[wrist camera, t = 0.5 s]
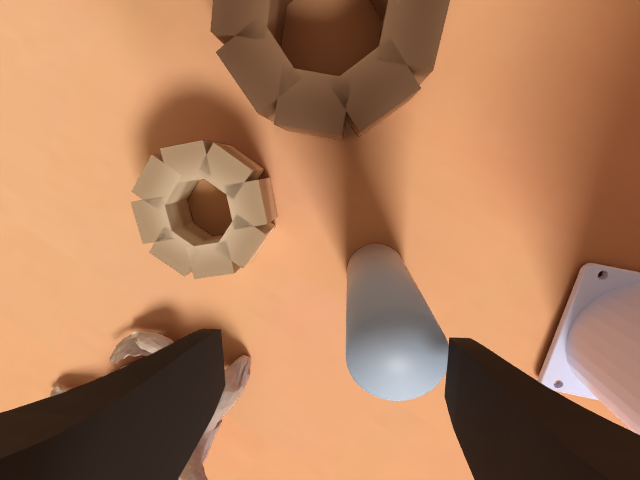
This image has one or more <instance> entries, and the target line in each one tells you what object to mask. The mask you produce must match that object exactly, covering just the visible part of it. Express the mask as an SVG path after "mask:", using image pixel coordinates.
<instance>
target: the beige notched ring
mask: <svg viewBox="0 0 640 480" xmlns="http://www.w3.org/2000/svg"><path fill="white" fill-rule="evenodd" d="M160 151H161V154H162V155H151V157H150V159H149V160H148V162H147V164H146V166H145V168H144V170H143V171H142V173H141V175H140V177H139V179H138V181H137V182H136V184H135V186H134V188H133V190H132V192H133V193H134V194H136V195H137V196H139V197H140V198H141V199H143V200H139V201H133V202H131V205H132V208H133V212H134V215H135V219H136V222H137V226H138V229H139V232H140V236H141V239H142V243H143V244H145V243H152V242H155V243H154V245H153V247H152V248H151V250H150V252H149V253H151V254H152V255H154V256H155V257H157V258H158V259H160V260H161V261H162V262H164V263H165V264H167V265H168V266H170V267H171V268H173V269H174V270H176V271H177V272H179V273H180V274H182V275H183V276H186V275H188V274H189V273H190V272H193V276H194V279H198V278H205V277H212V276H219V275H226V274H233V273H235V272H236V271H237V270H238V269H239V268H240V267H241V268H243V267H244V266H245V265H246V264H247V263H248V262H249V261H250V260H251V259H252V258H253V257H254V256H255V255H256V254H257V252H258V251H259V250H260V248H261V247H262V245H263V244H264V242H265V241H266V239H267V238H268V236H269V235H270V233H271V232H272V231H273V229H274V228H275V225H274V224H273V223H271V221H273V220H274V219H275V218H277V217H278V216H277V211H276V206H275V201H274V196H273V191H272V186H271V181H270V178H265V179H259V177H260V175H261V174H262V172H263V171H264V169H263V168H262V167H261V166H259V165H258V164H256V163H255V162H254V161H252V160H251V159H249V158H248V157H247V156H245V155H244V154H242V153H241V152H240V151H238V150H237V149H235V148H234V147H233V146H231V145H226V144H222V143H218V142H212V141H205V140H201V141H196V142H190V143H185V144H180V145H175V146H170V147H164V148H160ZM203 179H205V180H207V181H208V182H209V183H211V184H212V185H214V186H215V187H217V188H218V189H219V190H221V191H222V192H224V193H225V194H226V195H227V200H228V204H229V209H230V213H231V217H232V223H231V224H230V226H229V227H228V229H227V230H226V232H225V233H224V235H217V236H211V235H210V234H209V233H207V232H206V231H204V230H203V229H201V228H200V227H198V226H197V225H196V224H194V223H193V221H192V217H191V213H190V209H189V205H188V201H187V199H188V198H189V196H190V194H191V193H192V191H193V189H194V188H195V186H196V184H197V182H198V181H199V180H203ZM258 179H259V180H258Z"/></svg>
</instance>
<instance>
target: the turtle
mask: <svg viewBox="0 0 640 480" xmlns="http://www.w3.org/2000/svg"><path fill="white" fill-rule="evenodd" d="M172 343H174V342H173V341H172V340H171V339H170V338H168V337H166V336H163V335H161V334H159V333H155V332H150V331H136V332H134V333H132V334H131V335H130V336H128V337H126V338H124V339H123V340H122V341H121V342H120V343H119V344H118V345H117V347H116V349H115V350H114V352H113V353H112V355H111V357H110V361H111V362H113V361H114V359H115V365H116V364H117V363H118V362H119V361H120V360H121V359H125V358H126V357H127V356H129V355H130V356H134V357H135V356H139V355H142V356H148V355H150V354H152V353H154V352H156V351H158V350H160V349H162V348H164V347H166V346H168V345H170V344H172ZM143 350H145V351H143ZM128 365H129V364H128ZM250 365H251V359H250V356H246V355H243V356H241V357H239V358H238V359H236V360H235V361H234V363H233V364H232V365H230V366H229V367H228V368H227V369H226V370H225V383H226V386H225V388H224V391H223V393H222V396H221V399H220V401H219V404H218V406H217V409H216V411H215V413H214V415H213V417H212V419H211V421H210V423H209V425H208V427H207V428H206V430H205V432H204V434H203V436H202V438H201V439H200V441H199V443H198V445H197V446H196V448H195V450H194V452H193V454H192V455H191V457H190V459H189V461H188V463H187V464H186V466H185V468H184V470H183V471H182V473H181V475H180V477H179V479H178V480H208V479H207V477H206V475H205V472H204V467H203V462H204V461H205V459H206V457H207V455H208V452H209V449H210V447H211V444H212V442H213V439H214V437H215V434H216V432H217V431H218V429H219V427H220V424H221V422H222V417H223V416H224V415H225V414H226V413H227V412H228V411H229V410H230V409H231V408H232V407H233V406H234V405H235V404H236V402H237V400H238V398H239V397H240V396H241V394H242V392H243V390H244V387H245V385H246V383H247V381H248V378H249V376H250ZM125 366H127V365H124V366H122V367H120V368H119V369H121V368H123V367H125ZM66 391H67V390H66V389H63V388H61V387H60V386H56V387H55V388H54V390H52V391H51V394H50V396H51V397H52V396H55V395H58V394H60V393H63V392H66Z"/></svg>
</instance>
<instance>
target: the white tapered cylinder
mask: <svg viewBox="0 0 640 480" xmlns="http://www.w3.org/2000/svg"><path fill="white" fill-rule="evenodd" d="M448 349H449V346H448V342H447V340H446V337H445V335H444V334H443V332H442V330H441V328H440V326H439V325H438V323H437V321H436V319H435V317H434V316H433V314H432V312H431V310H430V308H429V307H428V305H427V303H426V301H425V300H424V298H423V296H422V294H421V292H420V291H419V289H418V287H417V285H416V283H415V282H414V280H413V278H412V276H411V274H410V273H409V271H408V269H407V267H406V266H405V264H404V262H403V260H402V258H401V257H400V255H399V254H398V253H397V252H396V251H395V250H394V249H393V248H391V247H389V246H387V245H383V244H369V245H365V246H363V247H361V248H359V249H358V250H357V251H356V252H355V253H354V254H353V255H352V256H351V258H350V260H349V262H348V266H347V311H346V362H347V366H348V370H349V372H350V374H351V376H352V377H353V379H354V380H355V382H356V383H357V384H358V385H359V386H360V387H361V388H362V389H364V390H365V391H366V392H368V393H370V394H372V395H373V396H376V397H378V398H382V399H385V400H391V401H404V400H410V399H414V398H417V397H420V396H422V395H424V394H426V393H428V392H429V391H431V390H432V389H433V388H435V387H436V386H437V385H438V384H439V382H440V381H441V380H442V378H443V377H444V375H445V373H446V371H447V361H448Z"/></svg>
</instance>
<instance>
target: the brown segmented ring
mask: <svg viewBox="0 0 640 480" xmlns="http://www.w3.org/2000/svg"><path fill="white" fill-rule="evenodd" d="M291 1H292V0H213V10H212V21H211V32H212V33H213V34H214V35H215V36H216V37H217V38H218V39H219V40H220V41H221V42H222V43H223V44H224V46H223V47H221V48H220V49H219V50H218V51H217V52H216V53H217V55H218V56H219V57H220V59H221V60H222V62H223V63H224V65H225V66H226V68H227V69H228V71H229V72H230V73H231V75H232V76H233V78H234V79H235V81H236V82H237V84H238V85H239V87H240V88H241V90H242V91H243V92H244V94H245V95H246V97H247V98H248V100H249V101H250V103H251V104H252V106H253V107H254V108H255V110H256V111H257V113H258V114H260V115H262V116H263V117H265V118H267V119H269V120H271V121H274V124H275V125H277V126H279V127H280V128H282V129H284V130H287V131H292V132H298V133H303V134H309V135H314V136H320V137H325V138H331V139H336V140H341V141H342V140H343V134H344V129H345V124H346V119H347V121H348V122H349V124H350V126H351V127H352V129H353V130H354V132H355V133H356V135H357V136H358V137H359V136H360V135H362V134H363V133H364V132H366V131H367V130H369V129H370V128H371V127H373V126H374V125H376V124H377V123H378V122H380V121H381V120H383V119H384V118H385V117H387V116H388V115H390V114H391V113H392V112H394V111H395V110H397V109H398V108H399V107H401V106H402V105H404V104H405V103H406V102H408V101H409V100H410V99H411V98H412V97H413V96H414V95H415V94H416V93H417V92H418V91H419V90H420V89H421V87H420V86H419V85H420V84H421V83H422V82H423V81H424V79H425V78H426V77H427V76H428V75H429V74H430V73H431V72H432V71H433V69H434V64H435V60H436V56H437V52H438V48H439V44H440V40H441V35H442V31H443V27H444V23H445V19H446V15H447V10H448V6H449V2H450V0H370V1H371V3H372V4H373V6H374V8H375V9H376V11H377V13H378V14H379V16H380V18H381V19H382V21H383V24H382V29H381V34H380V39H379V44H378V47H377V48H376V49H375V50H373V51H372V52H371V53H369V54H368V55H367V56H365V57H364V58H363V59H361V60H360V61H359V62H358V63H356V64H355V65H354V66H352V67H351V68H350V69H348V70H347V71H346V72H344V73H343V74H342V75H341V76H335V75H329V74H324V73H318V72H312V71H307V70H301V69H295V68H294V67H293V66H292V64H291V63H290V61H289V60H288V58H287V57H286V55H285V54H284V52H283V51H282V49H281V42H282V35H283V28H284V20H285V13H286V6H287V5H288V4H289V3H290V2H291Z"/></svg>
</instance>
